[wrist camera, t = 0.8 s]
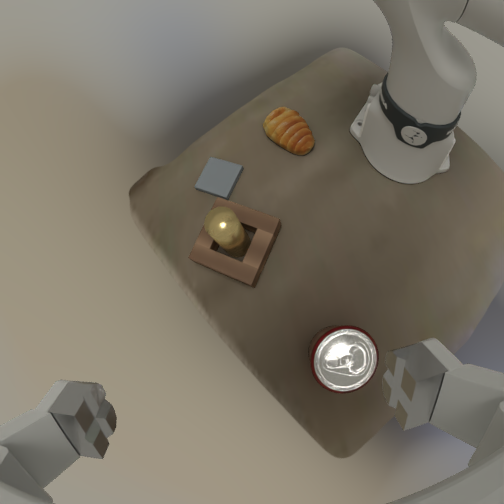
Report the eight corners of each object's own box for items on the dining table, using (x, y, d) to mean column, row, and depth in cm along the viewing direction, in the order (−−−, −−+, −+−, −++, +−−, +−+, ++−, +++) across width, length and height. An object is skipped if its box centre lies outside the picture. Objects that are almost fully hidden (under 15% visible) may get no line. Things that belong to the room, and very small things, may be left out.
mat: (212, 159, 50) (210, 156, 49) (243, 168, 49) (242, 165, 48) (196, 189, 49) (194, 186, 48) (227, 200, 48) (226, 197, 47)
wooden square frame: (222, 204, 48) (217, 197, 45) (281, 225, 45) (279, 218, 42) (195, 262, 46) (188, 257, 43) (254, 287, 44) (251, 285, 41)
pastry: (324, 144, 48) (325, 131, 44) (293, 165, 48) (292, 153, 44) (289, 112, 50) (287, 98, 47) (259, 131, 50) (256, 118, 47)
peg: (231, 227, 46) (213, 202, 37) (255, 236, 45) (242, 212, 36) (220, 251, 46) (198, 231, 36) (244, 261, 45) (228, 243, 35)
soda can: (360, 325, 40) (381, 324, 28) (358, 375, 38) (377, 393, 27) (309, 325, 41) (311, 325, 29) (307, 376, 39) (308, 395, 28)
